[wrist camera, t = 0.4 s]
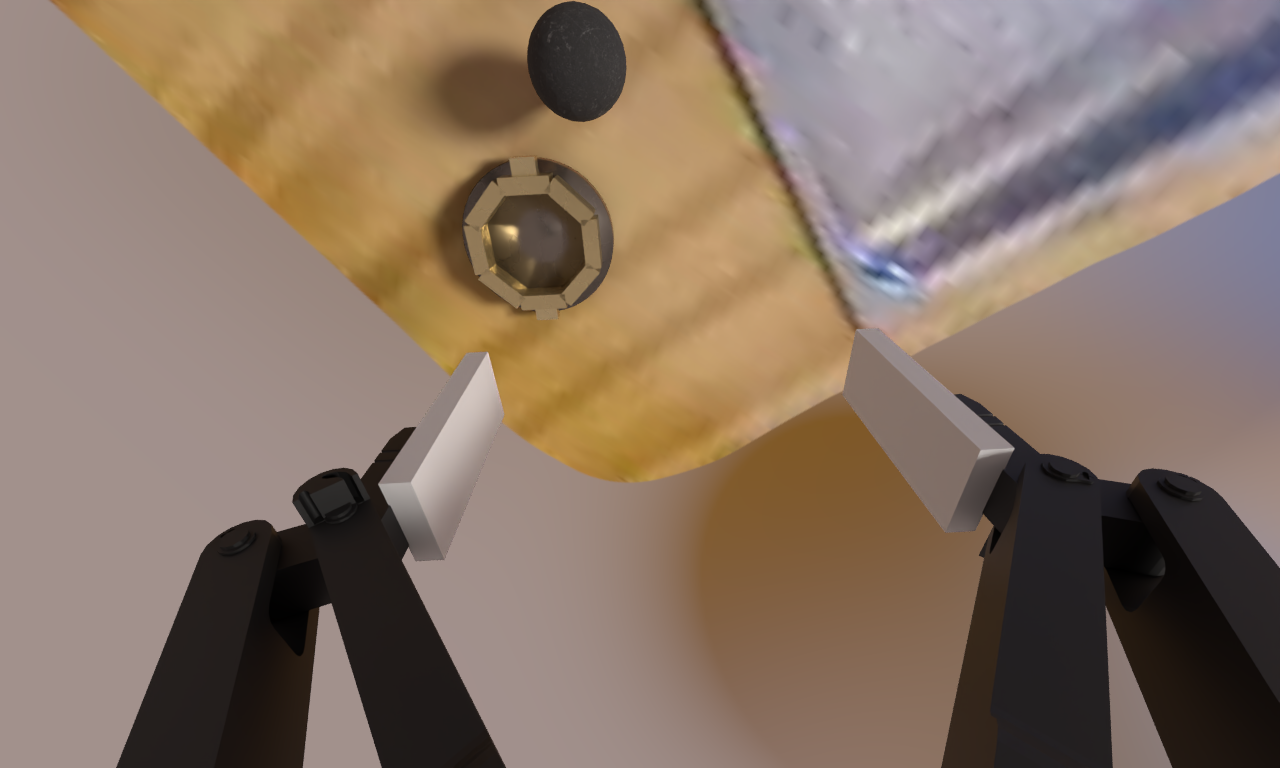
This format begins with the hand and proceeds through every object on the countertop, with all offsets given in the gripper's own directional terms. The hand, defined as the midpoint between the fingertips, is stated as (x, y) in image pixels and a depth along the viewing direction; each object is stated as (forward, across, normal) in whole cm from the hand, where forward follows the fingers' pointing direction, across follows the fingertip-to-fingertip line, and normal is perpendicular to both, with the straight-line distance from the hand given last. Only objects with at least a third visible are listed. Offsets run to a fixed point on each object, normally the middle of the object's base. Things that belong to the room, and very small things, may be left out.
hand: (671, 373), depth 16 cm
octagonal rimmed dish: (+24, -9, 0) cm, 26 cm away
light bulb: (+25, -4, +11) cm, 27 cm away
